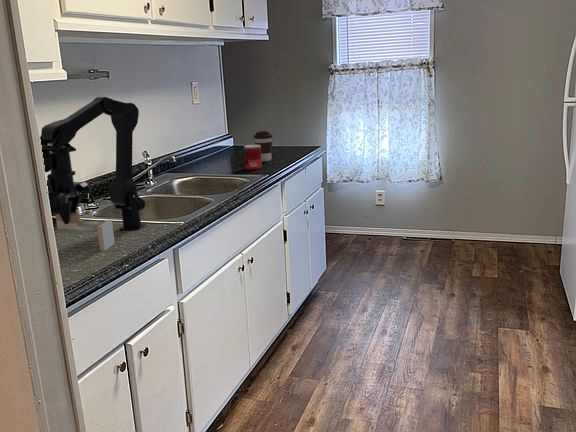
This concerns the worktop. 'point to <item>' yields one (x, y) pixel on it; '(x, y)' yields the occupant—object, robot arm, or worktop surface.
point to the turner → (75, 223)
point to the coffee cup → (264, 144)
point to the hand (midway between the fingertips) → (69, 222)
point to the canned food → (253, 157)
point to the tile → (105, 235)
